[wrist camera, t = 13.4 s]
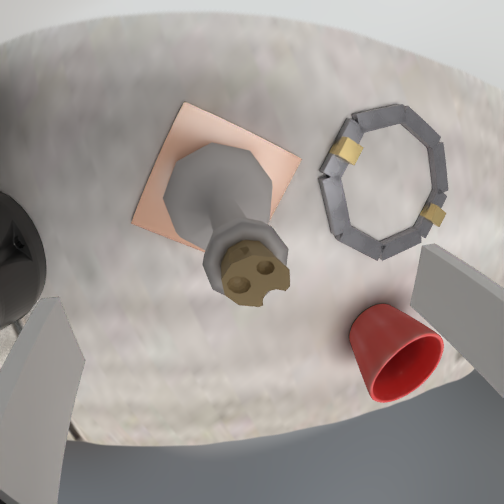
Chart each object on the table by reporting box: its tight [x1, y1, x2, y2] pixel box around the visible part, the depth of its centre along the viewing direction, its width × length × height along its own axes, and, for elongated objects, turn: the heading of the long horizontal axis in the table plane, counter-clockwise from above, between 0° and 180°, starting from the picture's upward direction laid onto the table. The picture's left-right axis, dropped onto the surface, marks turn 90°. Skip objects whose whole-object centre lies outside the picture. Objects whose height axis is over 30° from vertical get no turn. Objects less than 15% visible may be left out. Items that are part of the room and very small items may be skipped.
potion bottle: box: [163, 142, 290, 307], centre depth 20 cm, size 9×9×18 cm
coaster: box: [131, 102, 302, 252], centre depth 28 cm, size 12×12×1 cm
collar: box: [318, 104, 448, 261], centre depth 31 cm, size 17×17×2 cm
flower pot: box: [349, 304, 444, 402], centre depth 36 cm, size 11×11×10 cm
